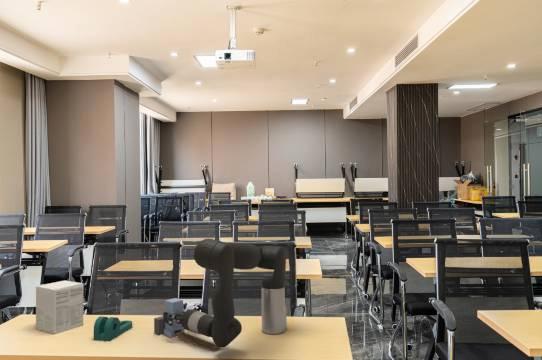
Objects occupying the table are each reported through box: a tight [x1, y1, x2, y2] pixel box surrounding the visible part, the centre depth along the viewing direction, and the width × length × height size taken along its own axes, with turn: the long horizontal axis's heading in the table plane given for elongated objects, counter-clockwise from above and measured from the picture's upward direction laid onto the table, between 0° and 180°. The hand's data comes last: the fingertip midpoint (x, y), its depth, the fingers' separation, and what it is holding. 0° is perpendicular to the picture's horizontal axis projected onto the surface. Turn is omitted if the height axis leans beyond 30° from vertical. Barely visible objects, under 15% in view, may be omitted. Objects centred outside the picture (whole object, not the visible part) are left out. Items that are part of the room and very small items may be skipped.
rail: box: [173, 330, 221, 352], centre depth 153 cm, size 2×29×1 cm, turn 48°
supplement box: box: [35, 279, 84, 335], centre depth 171 cm, size 13×13×18 cm
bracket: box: [93, 316, 133, 342], centre depth 163 cm, size 18×7×8 cm, turn 168°
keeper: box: [163, 297, 186, 338], centre depth 161 cm, size 6×5×13 cm
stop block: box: [153, 315, 165, 336], centre depth 164 cm, size 10×3×6 cm, turn 138°
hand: (170, 313), depth 163 cm, fingers closed on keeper, 4 cm apart
